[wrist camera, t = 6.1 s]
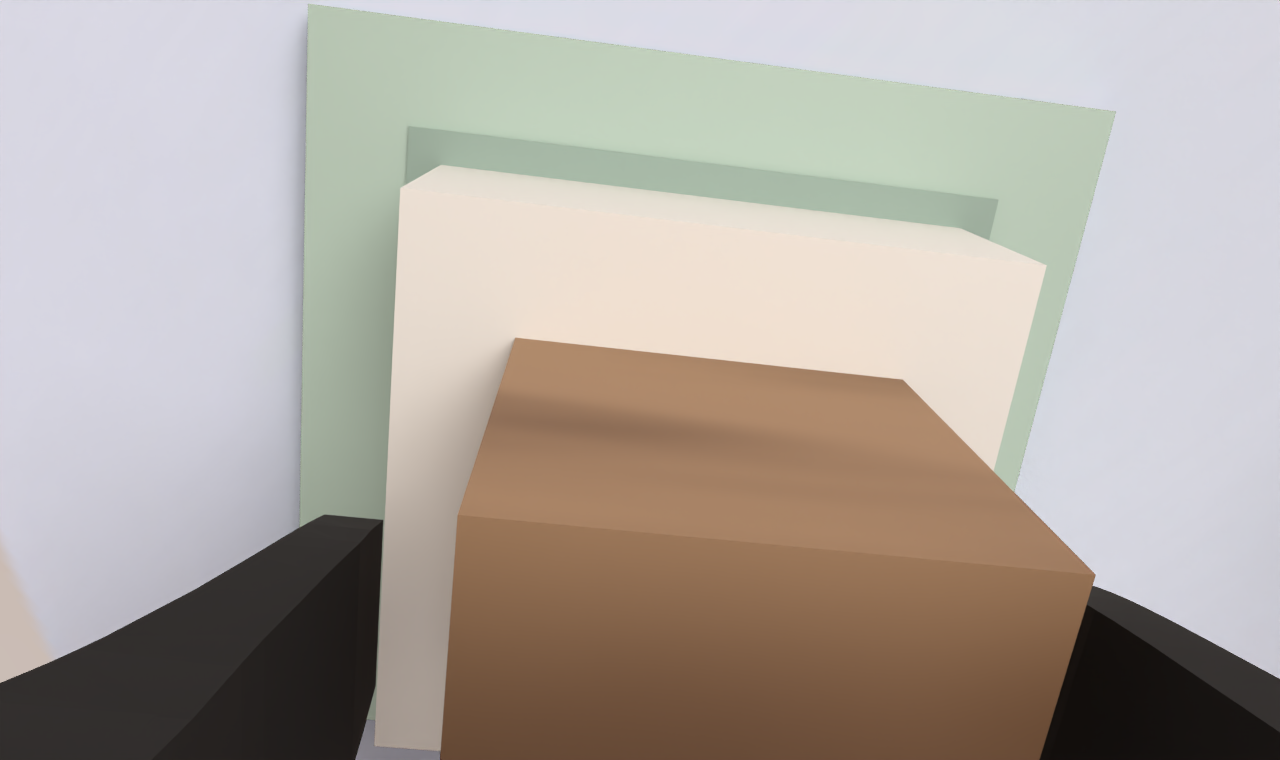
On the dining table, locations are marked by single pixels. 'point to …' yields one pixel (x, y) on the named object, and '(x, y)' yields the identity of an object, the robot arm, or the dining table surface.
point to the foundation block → (649, 341)
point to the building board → (637, 182)
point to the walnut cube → (744, 572)
